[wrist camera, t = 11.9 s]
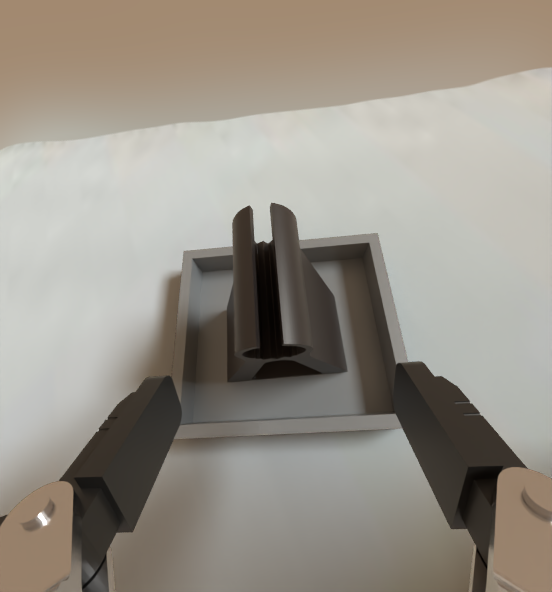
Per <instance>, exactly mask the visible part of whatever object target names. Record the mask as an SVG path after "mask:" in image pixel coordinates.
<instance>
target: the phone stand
mask: <svg viewBox="0 0 552 592" xmlns="http://www.w3.org/2000/svg"><path fill="white" fill-rule="evenodd" d="M270 214H271V226H272V237H273V240H272V241H271V242H270V243H269V244H268V243H266V242H264V241H262V242H260V243H258V244H257V243H256V242H255V241H254V226H253V210H252V208H251V207H250V206H247V207H245V208H243V209H242V210H240V211H239V212H238V213H237V214H236V216H235V217H234V219H233V223H232V228H233V285H232V289H231V293H230V297H229V301H228V305H227V382H240V381H251V380H262V379H274V378H285V377H296V376H307V375H319V374H330V373H341V372H348V369H347V364H346V358H345V353H344V347H343V341H342V336H341V330H340V324H339V319H338V313H337V307H336V302H335V296H334V295H333V293H332V292H331V291H330V289H329V288H328V286H327V285H326V284H325V282H324V281H323V279H322V278H321V277H320V275H319V274H318V272H317V271H316V270H315V268H314V267H313V265H312V264H311V263H310V261H309V260H308V259H307V257H306V256H305V254H304V253H303V252H302V250H301V249H300V244H299V237H298V229H297V222H296V217H295V215H294V214H293V212H292V211H291V210H289V209H288V208H286V207H284V206H282V205H279V204H275V203H271V206H270Z"/></svg>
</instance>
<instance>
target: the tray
mask: <svg viewBox="0 0 552 592" xmlns="http://www.w3.org/2000/svg"><path fill="white" fill-rule="evenodd" d="M268 244H269V243H268ZM299 244H300V249H301V250H302V252H303V253H304V254H305V256H306V257H307V259H308V260H309V261H310V263H311V264H312V265H313V267H314V268H315V270H316V271H317V272H318V274H319V275H320V277H321V278H322V279H323V281H324V282H325V284H326V285H327V286H328V288H329V289H330V291H331V292H332V293H333V295H334V296H335V302H336V307H337V313H338V319H339V324H340V330H341V336H342V341H343V347H344V353H345V358H346V364H347V369H348V372H341V373H330V374H319V375H307V376H296V377H285V378H274V379H262V380H251V381H240V382H227V305H228V301H229V297H230V293H231V289H232V285H233V247H223V248H212V249H201V250H190V251H184V253H183V263H182V274H181V284H180V294H179V304H178V315H177V325H176V335H175V345H174V356H173V366H172V376H171V378H172V380H173V382H174V385H175V389H176V392H177V395H178V398H179V401H180V404H181V408H182V418H181V423H180V426H179V428H178V430H177V433H176V435H175V437H174V439H190V438H211V437H232V436H253V435H274V434H295V433H316V432H337V431H358V430H379V429H400V428H402V426H401V424H400V422H399V420H398V418H397V416H396V413H395V409H394V405H393V391H394V380H395V369H396V365H397V363H403V362H408V359H407V354H406V350H405V346H404V342H403V338H402V333H401V329H400V325H399V321H398V317H397V313H396V308H395V304H394V300H393V296H392V292H391V287H390V283H389V279H388V275H387V271H386V266H385V262H384V258H383V254H382V250H381V246H380V241H379V237H378V233H373V234H363V235H352V236H341V237H330V238H319V239H309V240H299Z"/></svg>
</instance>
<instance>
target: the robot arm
mask: <svg viewBox="0 0 552 592" xmlns="http://www.w3.org/2000/svg"><path fill="white" fill-rule="evenodd" d="M393 405H394V409H395V413H396V416H397V418H398V420H399V422H400V424H401V426H402V428H403V430H404V432H405V434H406V437H407V439H408V441H409V443H410V445H411V447H412V449H413V451H414V453H415V455H416V457H417V459H418V461H419V464H420V466H421V468H422V470H423V472H424V474H425V476H426V478H427V480H428V482H429V484H430V486H431V488H432V491H433V493H434V495H435V497H436V499H437V501H438V503H439V505H440V507H441V509H442V511H443V513H444V516H445V518H446V520H447V522H448V524H449V526H450V528H451V529H468V531H469V533H470V535H471V537H472V539H473V541H474V543H475V544H474V548H473V556H472V565H471V575H470V584H469V592H552V479H551V478H549V477H547V476H545V475H543V474H541V473H539V472H536V471H533V470H530V469H528V468H527V467H526V466H525V465H524V464H523V463H522V462H521V460H520V459H519V458H518V457H517V456H516V455H515V453H514V452H513V451H512V450H511V449H510V448H509V446H508V445H507V444H506V443H505V442H504V440H503V439H502V438H501V437H500V436H499V435H498V433H497V432H496V431H495V430H494V429H493V428H492V426H491V425H490V424H489V423H488V422H487V421H486V419H485V418H484V417H483V416H481V415H480V412H479V411H478V410H477V409H476V408H475V407H474V405H473V404H470V401H469V399H468V398H467V397H466V396H465V395H464V394H463V392H462V391H461V390H460V389H459V388H458V387H457V386H455V385H454V384H453V383H451V382H450V381H448V380H447V379H445V378H444V377H442V376H437V377H434V375H433V374H432V373H431V372H430V370H429V369H428V368H427V366H426V365H425V364H424V363H423V362H403V363H397V365H396V369H395V380H394V391H393ZM181 418H182V408H181V404H180V401H179V398H178V395H177V392H176V389H175V385H174V382H173V380H172V378H171V377H170V376H155V377H147V378H146V379H145V380H144V381H143V383H142V384H141V385H140V387H139V388H138V390H137V391H136V392H133V393H131V394H130V395H128V396H127V397H126V398H125V399H124V400H122V401H121V402H120V403H119V404H118V405H117V406H116V407H115V409H114V410H113V411H112V412H111V414H110V415H109V416H108V420H105V422H104V423H103V424H102V426H101V427H100V428H99V431H98V432H96V433H95V435H94V436H93V437H92V439H91V440H90V441H89V442H88V444H87V445H86V446H85V448H84V449H83V450H82V452H81V453H80V454H79V456H78V457H77V458H76V459H75V461H74V462H73V463H72V465H71V466H70V467H69V469H68V470H67V471H66V473H65V474H64V475H63V476H62V478H61V479H60V480H59V481H57V482H53V483H50V484H47V485H45V486H43V487H41V488H39V489H37V490H36V491H34V492H33V493H31V494H30V495H28V496H27V497H26V498H25V499H23V500H22V501H21V502H20V503H19V504H18V505H17V506H16V507H15V508H14V509H13V510H12V511H11V512H10V513H9V514H8V515H6V516H3V517H0V592H115V581H114V569H113V557H112V550H111V547H110V545H111V542H112V540H113V538H114V536H115V534H116V533H117V532H133V530H134V528H135V526H136V523H137V521H138V519H139V517H140V514H141V512H142V510H143V508H144V505H145V503H146V501H147V498H148V496H149V494H150V492H151V489H152V487H153V485H154V483H155V480H156V478H157V476H158V474H159V471H160V469H161V467H162V464H163V462H164V460H165V458H166V455H167V453H168V451H169V449H170V446H171V444H172V442H173V440H174V437H175V435H176V433H177V430H178V428H179V426H180V423H181Z"/></svg>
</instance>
